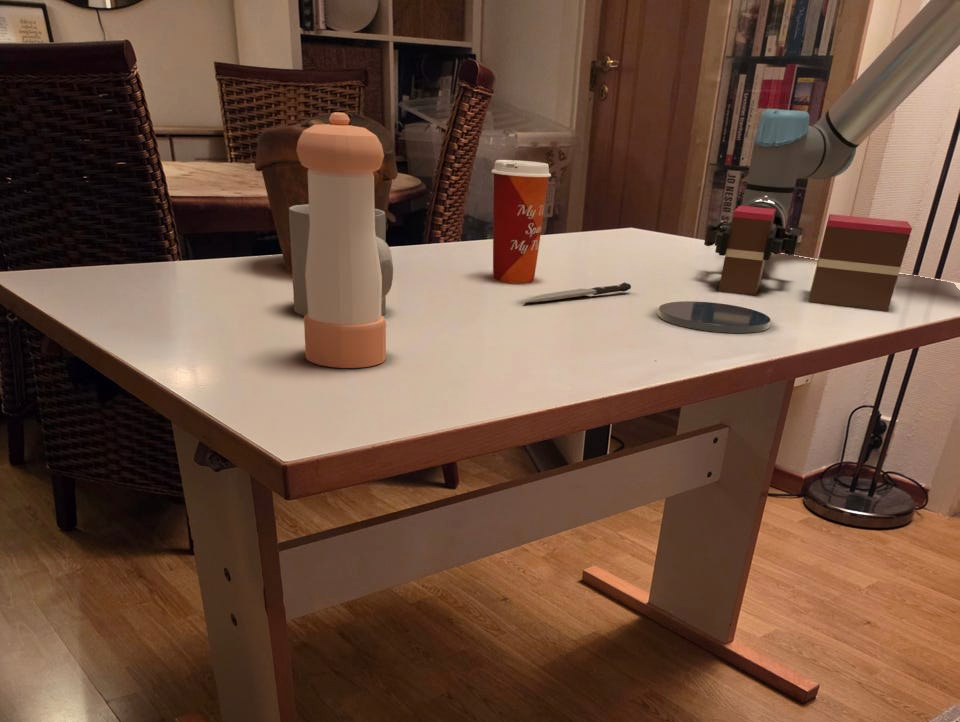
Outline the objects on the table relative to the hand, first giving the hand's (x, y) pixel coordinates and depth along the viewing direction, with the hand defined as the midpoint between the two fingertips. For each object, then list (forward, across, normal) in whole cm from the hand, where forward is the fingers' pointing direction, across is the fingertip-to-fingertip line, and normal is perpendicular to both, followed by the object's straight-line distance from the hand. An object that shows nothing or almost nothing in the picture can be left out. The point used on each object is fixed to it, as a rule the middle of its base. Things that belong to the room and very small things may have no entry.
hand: (745, 246), depth 114 cm
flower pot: (+18, -52, +6) cm, 55 cm away
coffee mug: (+41, -38, +6) cm, 56 cm away
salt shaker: (+57, -30, +6) cm, 64 cm away
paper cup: (+9, -29, +6) cm, 31 cm away
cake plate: (+19, -1, +6) cm, 20 cm away
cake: (-5, +14, +6) cm, 17 cm away
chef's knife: (+16, -19, +6) cm, 25 cm away
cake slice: (-5, 0, +6) cm, 8 cm away
